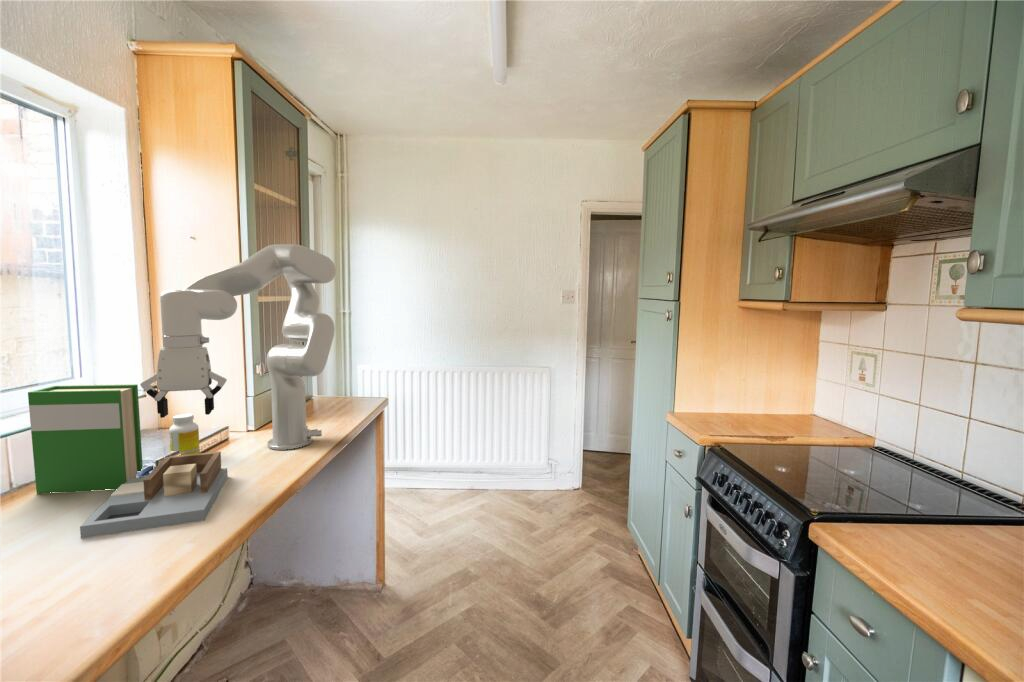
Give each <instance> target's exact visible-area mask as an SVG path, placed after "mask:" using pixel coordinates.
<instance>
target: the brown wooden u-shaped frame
mask: <svg viewBox="0 0 1024 682" xmlns="http://www.w3.org/2000/svg"><path fill="white" fill-rule="evenodd" d="M187 464H196V469H197V473H200V472H201V473H200V485H201V493H207V492H208V490H209V489H210V487H211V485H212V484H213V482H214V480H215V478H216V477H217V475H218V473H219V472H220V470H221V468H222V455H221V451H212V452H202V453H201V452H200V454H189V455H179V456H171V455H170V456H165V457H164V458H163V459H162V460H161V461H160V463H158V464H157V466H156V467H154V468H153V470H152V471H151V472H150V473H149V474H148V475H147V476H145V477H146V478H145V479H144V480H143V482H144V498H145V500H152V498H153V497H154V496H155V495H156V494H157V492H158V491H159V490H160V489H161V488H162V486H163V485H164V483H163V474H164V473H165V472H166V470H167V469H168V468H169V467H170V466H177V465H187Z"/></svg>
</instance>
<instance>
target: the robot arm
mask: <svg viewBox="0 0 1024 682" xmlns="http://www.w3.org/2000/svg"><path fill="white" fill-rule="evenodd" d="M336 271H337V269H336V265H335V263H334V262H333V260H332V259H331V258H330V257H328V256H327V255H325V254H323V253H320V252H318V251H316V250H313V249H311V248H309V247H306V246H304V245H300V244H298V243H294V244H292V243H289V244H288V243H284V244H280V243H277V244H275V243H274V244H269V245H267V246H265V247H263V248H261V249H260V250H258V251H257V252H255V253H253V254H252V255H251V256H249V257H248V258H246V259H244V260H243V261H241V262H240V263H237V264H236V265H233V266H230V267H228V268H227V267H226V268H224V269H222V270H219V271H216V272H214V273H211V274H208V275H206V276H203V277H200V278H199V279H197V280H195V281H194V282H192V283H191V284H189V285H187V286H185V287H184V288H183V289H167V290H163V291H162V292H161V293H160V295H159V297H160V298H159V300H160V302H159V303H160V315H161V316H160V317H161V318H160V319H161V334H162V338H161V339H162V348H160V349H159V352H158V356H157V357H158V358H157V368H156V374H155V375H153V376H151V377H149V378H147V379H146V380H144V381H142V382H141V383H140V387H141V388H142V389H143V391H145V392H146V393H147V395H148V396H150V397H151V398H153V399H154V402H156V409H157V411H156V412H157V414H158V415H159V416H160V418H161V419H163V418H165V417H167V416H168V415H169V406H168V401H169V400H168V398H167V397H166V396H167V394H168V393H169V392H185V391H199V390H200V391H201V392H202V393H203V394H204V395H205V398H204V413H205V414H204V415H210V414H211V413H212V411H214V409H215V399H214V396H215V395H216V394H217V393H219V392H220V391H221V390H222V389H223V387H224V386H225V384H226V383H227V381H228V380H227V378H226V377H224V376H222V375H219V374H218V373H215V372H213V371H212V367H211V366H212V365H211V360H210V359H211V358H210V355H209V351H208V348H207V347H206V346H204V344H210V338H209V337H208V336H207V337H206V336H204V335H203V332H202V331H203V330H202V320H209V321H222V320H227V319H229V318H231V317H232V316H234V314H235V313H236V312H237V309H238V302H237V299H236V298H235V297H236V296H243V295H249V294H253V293H255V292H259V291H261V290H262V289H264V288H265V287H266V286H268V285H269V284H270V283H272V282H273V281H274V280H276V279H277V278H279V277H280V276H282V275H283V277H284V278H285V280H286V282H287V284H288V288H289V290H290V300H289V304H288V307H287V311H286V314H285V316H284V320H283V323H282V327H281V334H282V336H283V338H285V339H286V340H287V341H290V342H295V343H294V344H293V343H282V344H277V345H274V346H273V347H271V348H270V349H269V351H268V352H267V354H266V366H267V371H268V375H269V380H270V387H271V388H270V390H271V392H270V393H271V394H270V395H271V415H272V416H271V417H272V418H271V419H272V420H271V421H272V438H271V439H269V440H268V441H267V444H266V445H267V448H269V449H270V450H277V451H286V450H287V449H288V450H294V448H295V449H299V447H300V448H302V446H303V447H305V445H306V446H308V445H310V444H311V443H312V442H313V437H322V436H323V435H322V431H323V430H322V429H320V430H319V429H318V428H314V429H309V428H308V427H309V426H308V425H307V405H306V404H307V401H306V400H307V399H306V398H307V397H306V385H305V382H304V380H303V378H302V377H317V376H319V375H320V374H321V373H322V372H324V370H325V367H326V365H327V362H328V358H329V356H330V355H329V354H330V351H331V348H332V344H333V341H334V336H335V331H336V330H335V328H336V327H335V324H334V320H333V319H332V317H331V316H330V315H328V314H327V313H324V312H318V310H319V306H320V298H319V294H318V292H317V291H316V289H315V287H314V286H313V284H329V283H331V282H332V281H333V280H334V278H335V277H336V273H337V272H336ZM296 342H297V343H299V342H300V343H306V344H296ZM213 381H215V382H217V384H216V386H215V387H214V388H212V387H211V386H210V385H212V384H213ZM155 382H156V385H157V389H158V390H159V391H158V390H156V388H153V386H152V384H153V383H155Z"/></svg>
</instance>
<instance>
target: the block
mask: <svg viewBox="0 0 1024 682" xmlns="http://www.w3.org/2000/svg"><path fill="white" fill-rule="evenodd" d="M163 483H164V496H170V495H178V494H186V493H192V491H193V490H194V488H195V487H196V485H197V469H196V464H187V465H177V466H170V467H169V468H168V469H167V470H166V472H165V473H164V474H163Z"/></svg>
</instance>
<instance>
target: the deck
mask: <svg viewBox="0 0 1024 682" xmlns="http://www.w3.org/2000/svg"><path fill="white" fill-rule="evenodd" d="M200 473H201V472H200ZM200 473H197V485H196V487H195V488H194V490H193V491H192V493H186V494H178V495H170V496H164V485H163V486H162V488H161V489H160V490H159V491H158V492H157V494H156V495H155V496H154V497H153V498H152V500H145V498H144V482H143V480H144V479H145V478H146V477H147V476H143V477H139V478H130V479H129V480H128V481H127V482H126V483H125V484H122V485H121V486H120V487H119V488H118V489H117V490H114V491H113V492H112V493H111V494H110V497H109V498H108V499H107V500H105V502H104V503H103V504H102V505H101V506H99V508H98V509H96V511H95V512H94V513H92V514H91V515H90V516H89V517H88V518H87V519H86V520H85V521H84V522H82V524H81V525H80V526H79V531H80V539H86V538H93V537H100V536H106V535H113V534H121V533H128V532H135V530H136V531H141V530H147V529H156V528H162V527H167V526H168V527H169V526H170V527H171V526H176V525H177V526H178V525H183V524H191V523H197V522H203V521H205V520H206V519H207V517H208V515H209V514H210V512H211V509H212V507H213V506H212V505H214V504H215V502H216V500H217V499H218V498H217V497H218V496H219V494H220V492H221V490H222V489H221V488H223V487H222V486H224V485H223V484H225V483H226V481H227V479H228V468H227V467H223V468H222V467H221V470H220V472H219V473H218V475H217V477H216V478H215V480H214V482H213V484H212V485H211V487H210V489H209V490H208V492H207V493H201V485H200Z"/></svg>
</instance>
